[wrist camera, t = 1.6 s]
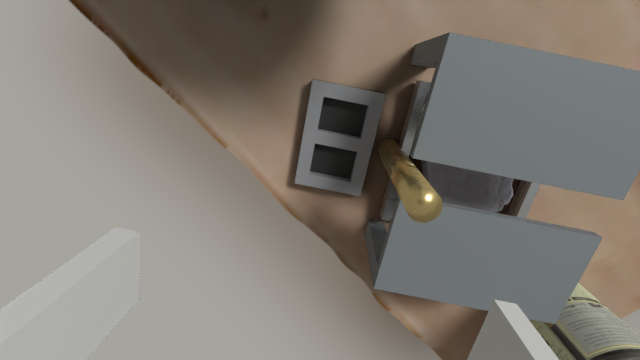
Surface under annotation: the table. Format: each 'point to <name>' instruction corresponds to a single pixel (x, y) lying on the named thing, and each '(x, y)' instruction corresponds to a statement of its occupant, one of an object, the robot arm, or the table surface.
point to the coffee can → (589, 331)
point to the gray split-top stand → (510, 172)
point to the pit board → (338, 137)
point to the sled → (413, 185)
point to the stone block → (468, 186)
